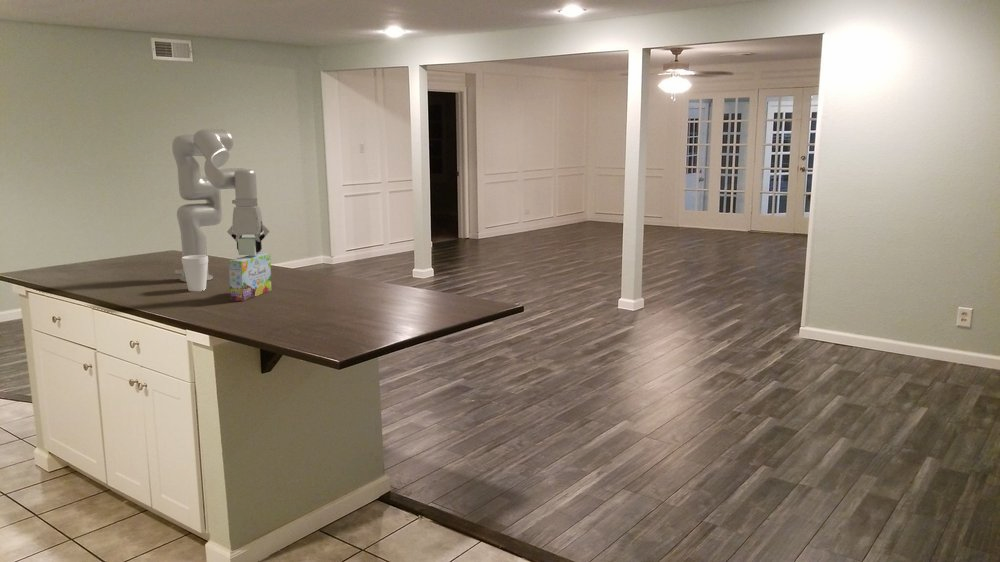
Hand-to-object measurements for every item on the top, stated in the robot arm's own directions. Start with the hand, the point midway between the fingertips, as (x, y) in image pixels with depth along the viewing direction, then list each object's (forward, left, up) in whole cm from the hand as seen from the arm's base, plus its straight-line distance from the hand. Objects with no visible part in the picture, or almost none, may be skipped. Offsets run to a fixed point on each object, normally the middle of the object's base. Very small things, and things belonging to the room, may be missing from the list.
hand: (249, 251), depth 277 cm
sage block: (0, 0, -1) cm, 1 cm away
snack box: (0, 0, -17) cm, 17 cm away
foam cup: (-25, +10, -17) cm, 32 cm away
